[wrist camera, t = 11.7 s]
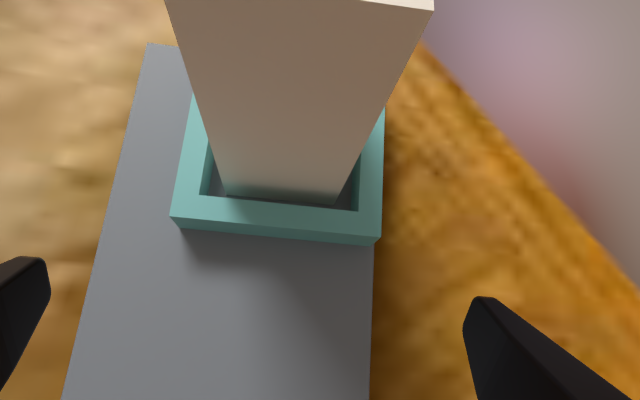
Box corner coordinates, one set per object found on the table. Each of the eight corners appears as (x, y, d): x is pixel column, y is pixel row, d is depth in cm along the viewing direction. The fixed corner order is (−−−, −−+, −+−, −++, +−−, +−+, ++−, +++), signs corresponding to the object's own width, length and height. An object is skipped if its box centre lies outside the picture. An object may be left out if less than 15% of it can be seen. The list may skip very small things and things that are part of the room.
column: (333, 205, 19) (452, -25, 7) (225, 194, 19) (140, -72, 6) (338, 111, 21) (443, -219, 8) (239, 99, 21) (192, -268, 8)
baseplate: (360, 483, 17) (378, 513, 14) (55, 469, 16) (9, 499, 13) (375, 84, 23) (390, 49, 20) (152, 55, 22) (135, 14, 19)
